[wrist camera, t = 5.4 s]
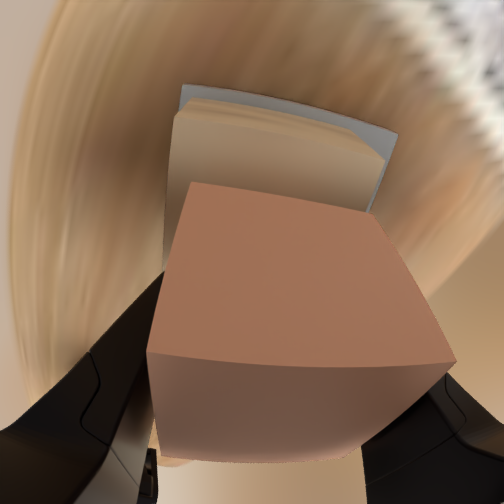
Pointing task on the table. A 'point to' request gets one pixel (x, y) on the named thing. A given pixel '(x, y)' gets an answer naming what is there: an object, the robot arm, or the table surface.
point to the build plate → (369, 133)
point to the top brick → (284, 331)
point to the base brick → (265, 158)
